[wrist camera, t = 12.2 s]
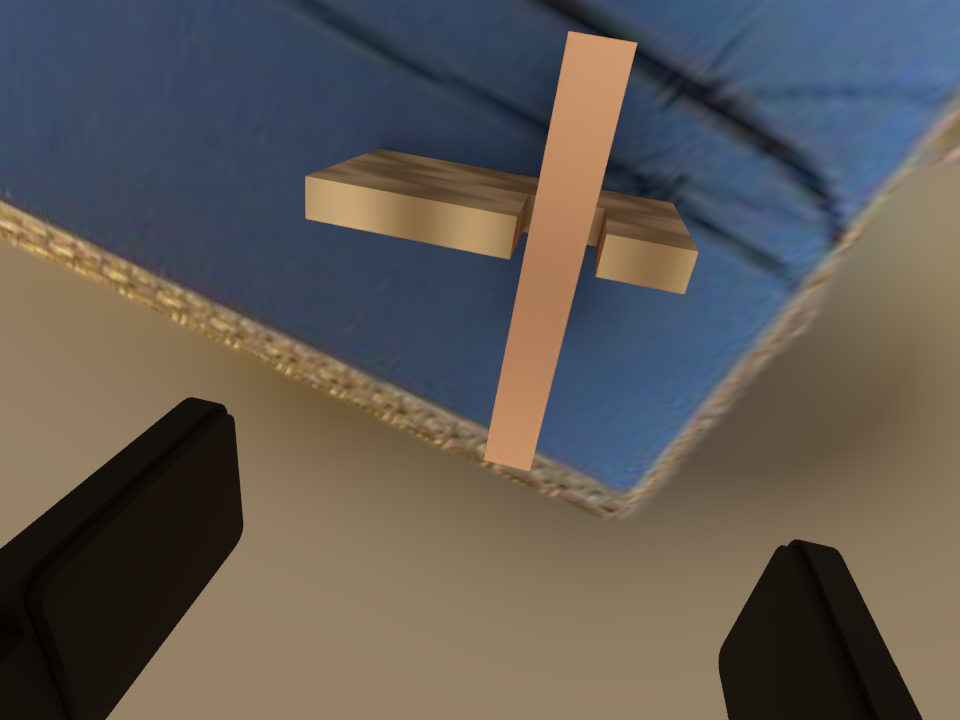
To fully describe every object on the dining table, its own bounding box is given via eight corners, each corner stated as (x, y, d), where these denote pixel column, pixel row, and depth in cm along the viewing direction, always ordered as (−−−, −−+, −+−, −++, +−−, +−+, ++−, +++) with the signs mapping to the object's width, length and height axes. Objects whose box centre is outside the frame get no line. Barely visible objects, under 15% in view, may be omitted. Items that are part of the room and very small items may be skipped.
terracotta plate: (526, 315, 38) (483, 460, 24) (582, 47, 30) (568, 31, 16) (555, 321, 38) (529, 471, 24) (619, 53, 30) (637, 42, 16)
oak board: (377, 181, 36) (305, 218, 27) (379, 148, 35) (305, 176, 26) (662, 236, 34) (684, 294, 25) (672, 202, 33) (698, 251, 24)
